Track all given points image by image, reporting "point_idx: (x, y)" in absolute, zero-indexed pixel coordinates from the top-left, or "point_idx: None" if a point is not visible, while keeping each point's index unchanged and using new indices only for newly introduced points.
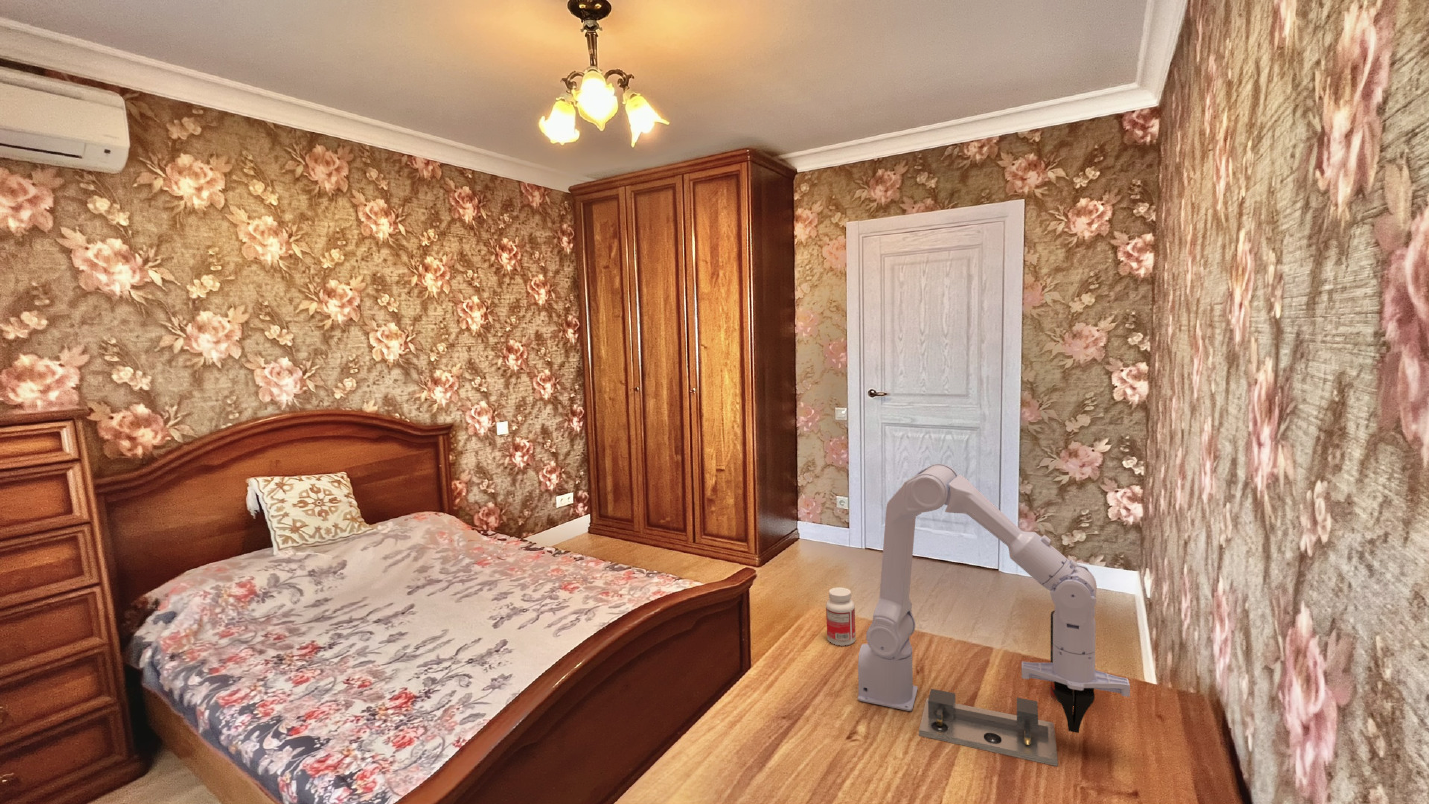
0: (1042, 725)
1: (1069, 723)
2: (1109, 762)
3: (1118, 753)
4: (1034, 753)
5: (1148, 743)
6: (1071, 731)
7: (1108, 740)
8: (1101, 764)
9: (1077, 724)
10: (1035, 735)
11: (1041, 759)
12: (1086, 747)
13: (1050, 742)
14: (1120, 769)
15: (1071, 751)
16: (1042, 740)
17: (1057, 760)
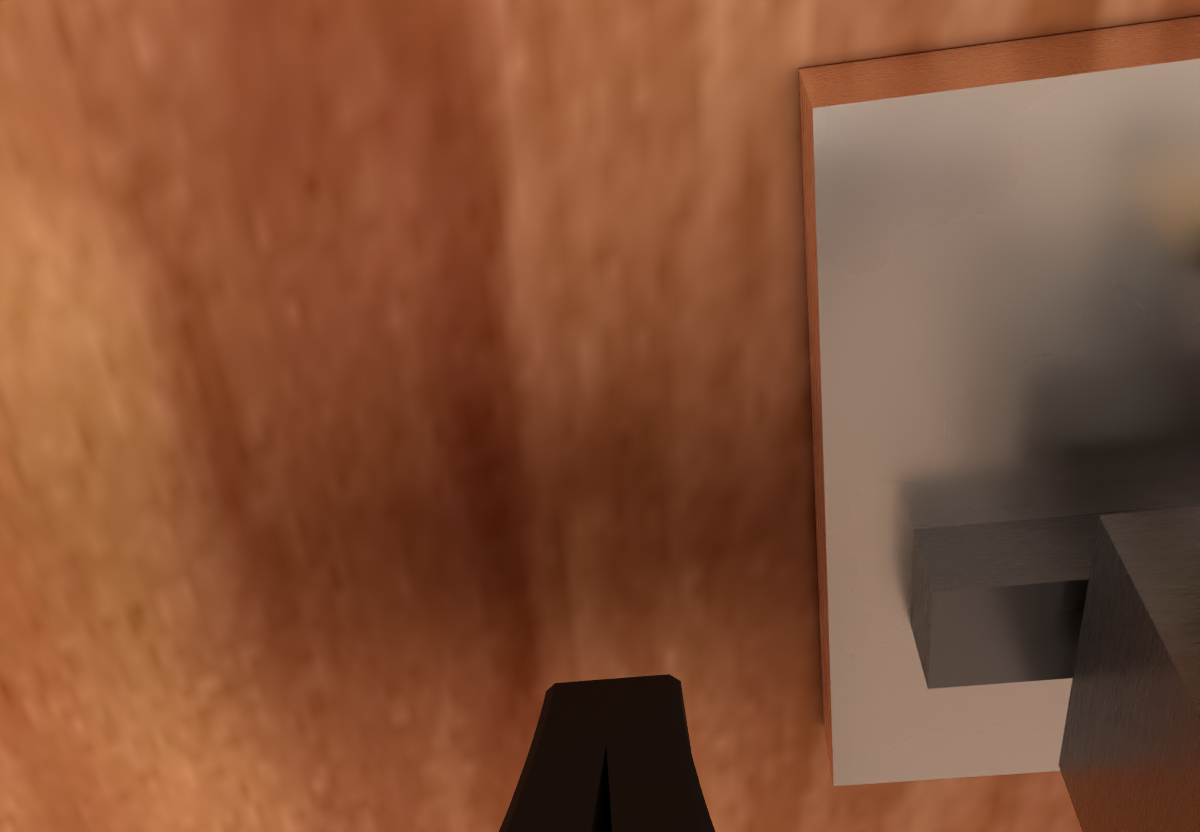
0: (961, 711)
1: (670, 777)
2: (230, 455)
3: (195, 624)
4: (1167, 108)
5: (29, 829)
6: (640, 678)
7: (323, 753)
8: (295, 383)
9: (551, 794)
10: (1076, 518)
11: (1045, 62)
12: (491, 589)
13: (892, 466)
14: (95, 389)
15: (635, 464)
16: (996, 460)
17: (814, 106)
